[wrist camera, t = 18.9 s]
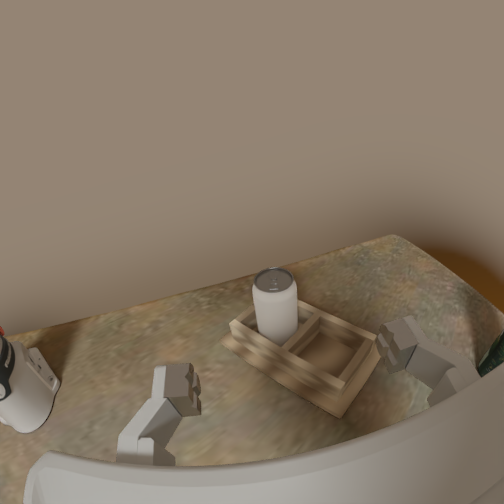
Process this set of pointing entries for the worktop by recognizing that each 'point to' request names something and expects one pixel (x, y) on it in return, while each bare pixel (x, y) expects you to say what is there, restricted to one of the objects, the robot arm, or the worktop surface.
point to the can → (276, 304)
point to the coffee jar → (492, 356)
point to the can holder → (310, 356)
